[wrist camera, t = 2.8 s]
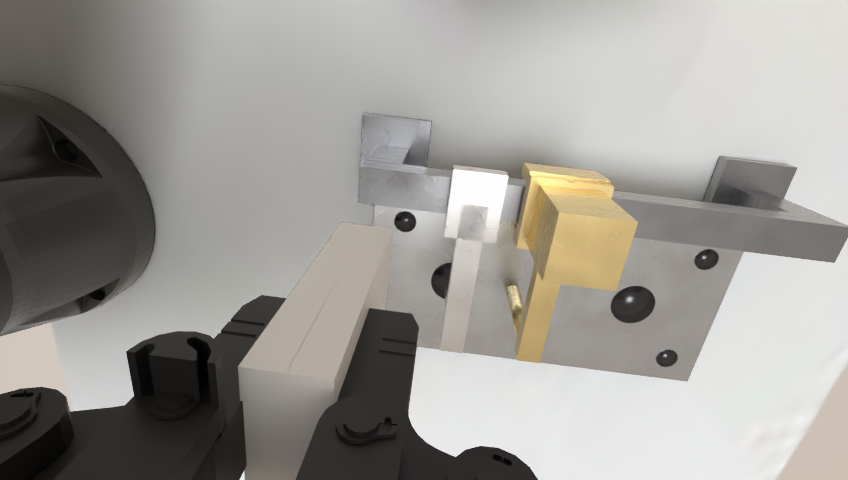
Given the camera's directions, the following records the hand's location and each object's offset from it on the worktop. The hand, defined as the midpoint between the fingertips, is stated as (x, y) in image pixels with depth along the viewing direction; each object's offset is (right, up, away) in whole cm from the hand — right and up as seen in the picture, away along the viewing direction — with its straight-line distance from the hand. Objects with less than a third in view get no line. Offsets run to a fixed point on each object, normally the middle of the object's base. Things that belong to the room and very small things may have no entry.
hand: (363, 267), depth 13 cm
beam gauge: (+10, +2, +15) cm, 18 cm away
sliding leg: (+8, +2, +14) cm, 16 cm away
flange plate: (+10, -2, +17) cm, 19 cm away
